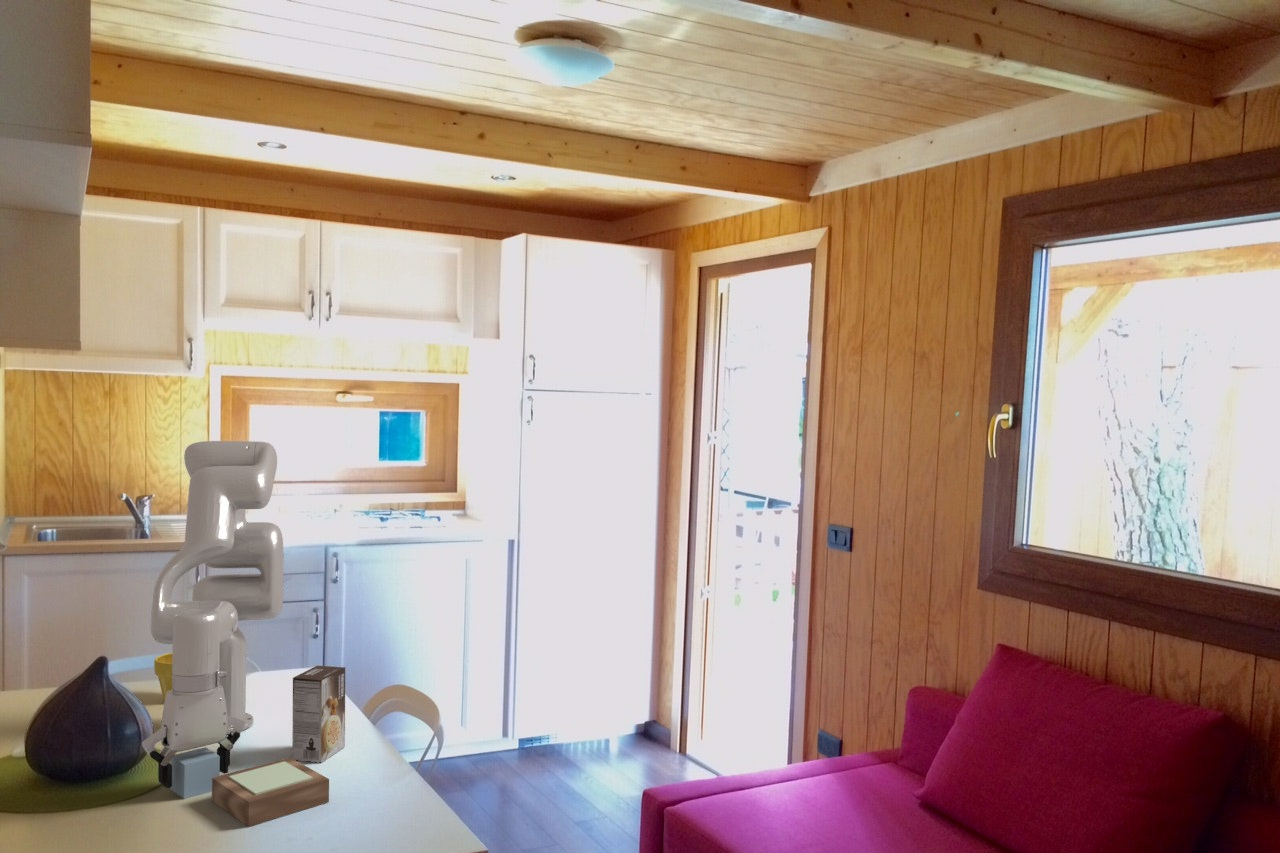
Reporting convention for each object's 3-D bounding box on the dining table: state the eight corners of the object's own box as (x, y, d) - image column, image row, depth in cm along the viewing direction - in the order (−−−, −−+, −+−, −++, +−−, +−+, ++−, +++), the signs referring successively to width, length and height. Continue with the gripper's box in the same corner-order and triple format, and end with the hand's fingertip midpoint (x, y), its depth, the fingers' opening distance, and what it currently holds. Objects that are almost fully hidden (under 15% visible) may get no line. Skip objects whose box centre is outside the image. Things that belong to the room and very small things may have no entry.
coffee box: (316, 744, 194) (317, 664, 194) (345, 747, 193) (346, 666, 193) (290, 760, 185) (291, 676, 185) (321, 764, 184) (322, 679, 184)
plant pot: (152, 708, 214) (152, 664, 214) (155, 695, 223) (155, 652, 223) (204, 703, 218) (204, 660, 218) (205, 690, 228) (205, 649, 227)
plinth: (211, 800, 166) (212, 775, 166) (289, 779, 177) (290, 755, 176) (248, 826, 157) (249, 800, 157) (328, 802, 167) (329, 777, 167)
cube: (170, 789, 171) (170, 755, 171) (204, 780, 175) (205, 747, 175) (184, 799, 167) (184, 764, 167) (219, 789, 171) (219, 756, 171)
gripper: (235, 668, 180) (234, 760, 180) (135, 686, 167) (134, 785, 167) (253, 676, 174) (252, 771, 175) (152, 695, 162) (151, 798, 162)
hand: (194, 778), depth 171 cm, fingers open, 9 cm apart
